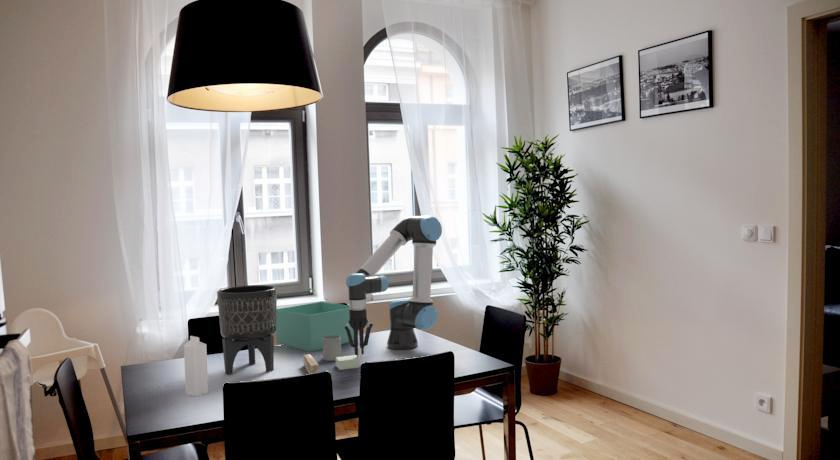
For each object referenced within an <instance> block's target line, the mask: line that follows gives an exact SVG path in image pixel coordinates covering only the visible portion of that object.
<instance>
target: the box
mask: <svg viewBox="0 0 840 460" xmlns="http://www.w3.org/2000/svg"><path fill="white" fill-rule="evenodd" d="M349 310H350V308H349V304H348V305H345V304H342V303H341V304H340V303H331V302H325V301H318V302H317V301H316V302H311V303H305V304H300V305H294V306H287V307H281V308H277V311H276V331H275V338H276V339H275V341H276V344H278V345H283V346H287V347H291V348H295V349H300V350H304V351H306V352H307V351H308V352H315V351H318V350H323V339H322V337H324V336H328V335H339V336H341V345H344V344H348V343H349V339H348V336H347V332H346V330H345V328H344V325H347V324H348V322H349ZM349 330H350V333H351V336H352V340H353V342H354V331H353V329H352V327H351V326H350V329H349Z"/></svg>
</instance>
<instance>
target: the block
mask: <svg viewBox="0 0 840 460" xmlns="http://www.w3.org/2000/svg"><path fill="white" fill-rule="evenodd" d="M335 367H336V368H337V369H338V370H341V371H342V370H350V369H359V368H360V361H359V358H358V357H357V355H355V354H354V355H345V356H342V355H341V357H336V360H335Z"/></svg>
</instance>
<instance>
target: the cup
mask: <svg viewBox="0 0 840 460" xmlns="http://www.w3.org/2000/svg"><path fill="white" fill-rule="evenodd" d="M322 339H323V349H322V360H323V361H329V362H330V361H336V357H342V344H341V336H339V335H328V336H324V337H322Z"/></svg>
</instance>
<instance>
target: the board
mask: <svg viewBox="0 0 840 460" xmlns="http://www.w3.org/2000/svg"><path fill="white" fill-rule="evenodd" d="M302 357H303V367H304V369H305V370H306V372H307V373H308V375H310V373H317V372H319V373H320V371H319V370H320V369H319V368H320V366H319V363H318V362H317V361H316V359H315V358H314V357H313V356H312V355H311V354H310V353H309V354H303V355H302Z"/></svg>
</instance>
